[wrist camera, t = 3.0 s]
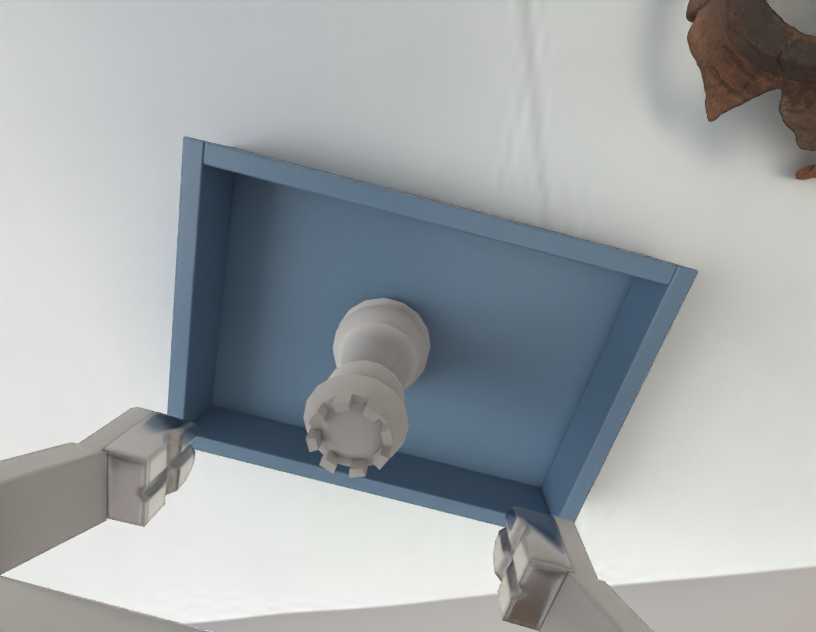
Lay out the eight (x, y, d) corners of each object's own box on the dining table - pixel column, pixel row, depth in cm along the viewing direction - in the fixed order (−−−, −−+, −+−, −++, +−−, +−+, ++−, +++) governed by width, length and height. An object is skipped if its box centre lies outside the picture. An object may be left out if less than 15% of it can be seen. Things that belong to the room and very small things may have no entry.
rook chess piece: (386, 275, 18) (349, 337, 10) (450, 344, 18) (460, 450, 11) (319, 335, 19) (240, 432, 11) (382, 398, 20) (349, 528, 12)
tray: (201, 408, 21) (165, 442, 18) (225, 145, 17) (182, 135, 14) (547, 496, 21) (565, 543, 18) (655, 258, 17) (699, 270, 14)
